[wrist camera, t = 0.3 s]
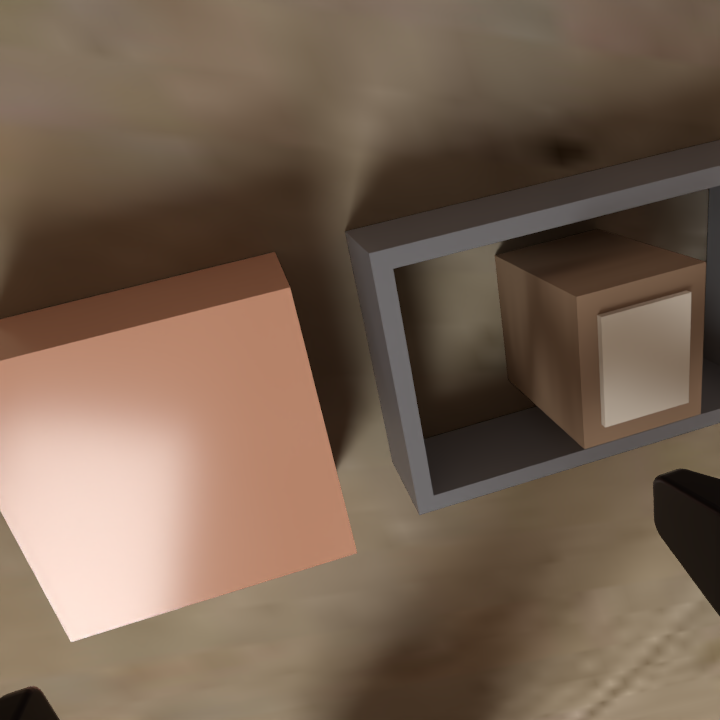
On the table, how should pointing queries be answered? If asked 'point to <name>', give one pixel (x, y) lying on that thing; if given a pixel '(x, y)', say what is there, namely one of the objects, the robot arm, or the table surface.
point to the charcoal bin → (487, 226)
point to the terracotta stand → (165, 445)
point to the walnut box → (604, 333)
